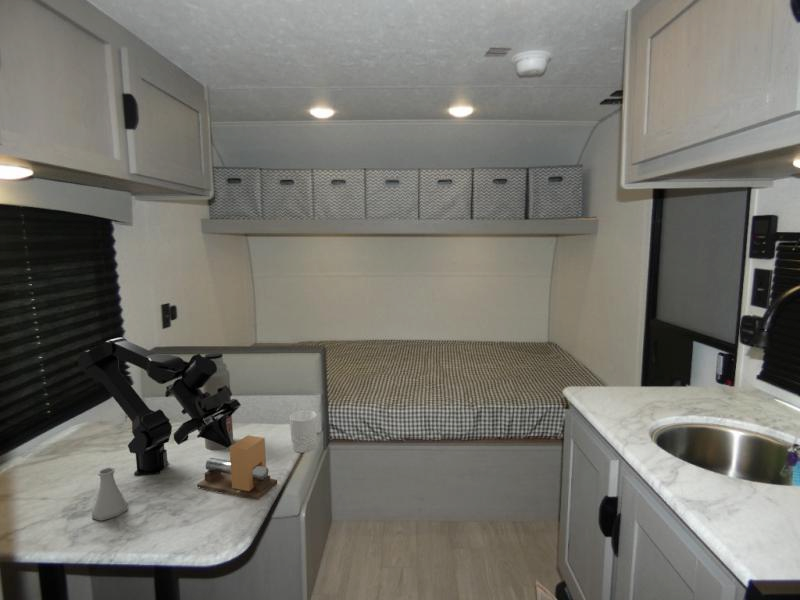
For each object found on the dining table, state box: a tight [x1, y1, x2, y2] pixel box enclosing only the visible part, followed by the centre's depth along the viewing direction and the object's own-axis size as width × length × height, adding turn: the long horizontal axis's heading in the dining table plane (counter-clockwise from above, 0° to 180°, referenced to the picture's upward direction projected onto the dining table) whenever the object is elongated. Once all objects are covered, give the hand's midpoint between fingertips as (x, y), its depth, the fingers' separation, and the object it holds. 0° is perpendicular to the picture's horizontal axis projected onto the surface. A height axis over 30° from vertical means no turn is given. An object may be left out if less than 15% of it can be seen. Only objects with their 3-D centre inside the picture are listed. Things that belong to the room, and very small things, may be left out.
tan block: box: [229, 435, 267, 491], centre depth 115 cm, size 5×7×10 cm
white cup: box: [289, 410, 318, 454], centre depth 137 cm, size 8×8×10 cm
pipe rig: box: [196, 457, 278, 501], centre depth 116 cm, size 18×8×6 cm, turn 71°
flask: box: [91, 466, 129, 522], centre depth 105 cm, size 7×7×10 cm
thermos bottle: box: [200, 352, 234, 451], centre depth 139 cm, size 8×8×28 cm
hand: (229, 446), depth 116 cm, fingers closed
